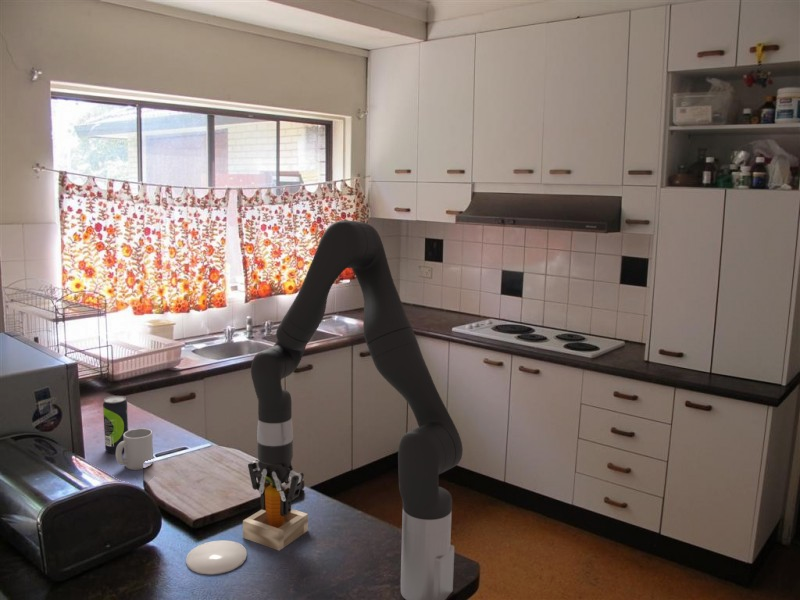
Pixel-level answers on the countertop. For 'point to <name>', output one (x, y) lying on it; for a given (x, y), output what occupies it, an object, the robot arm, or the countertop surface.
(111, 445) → the beverage can
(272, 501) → the carrot
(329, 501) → the countertop surface
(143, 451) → the cup
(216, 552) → the domed disc
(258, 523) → the pocket frame
